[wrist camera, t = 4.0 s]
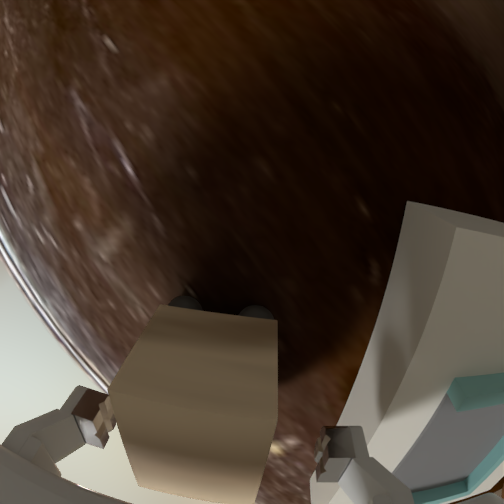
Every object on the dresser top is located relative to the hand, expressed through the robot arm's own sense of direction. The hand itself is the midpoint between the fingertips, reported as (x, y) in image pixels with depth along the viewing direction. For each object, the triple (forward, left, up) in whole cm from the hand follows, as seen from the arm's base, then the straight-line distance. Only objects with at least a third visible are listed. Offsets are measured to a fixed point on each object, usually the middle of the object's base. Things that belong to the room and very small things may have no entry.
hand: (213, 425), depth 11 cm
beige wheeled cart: (0, 0, -4) cm, 4 cm away
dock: (+2, +15, -4) cm, 15 cm away
